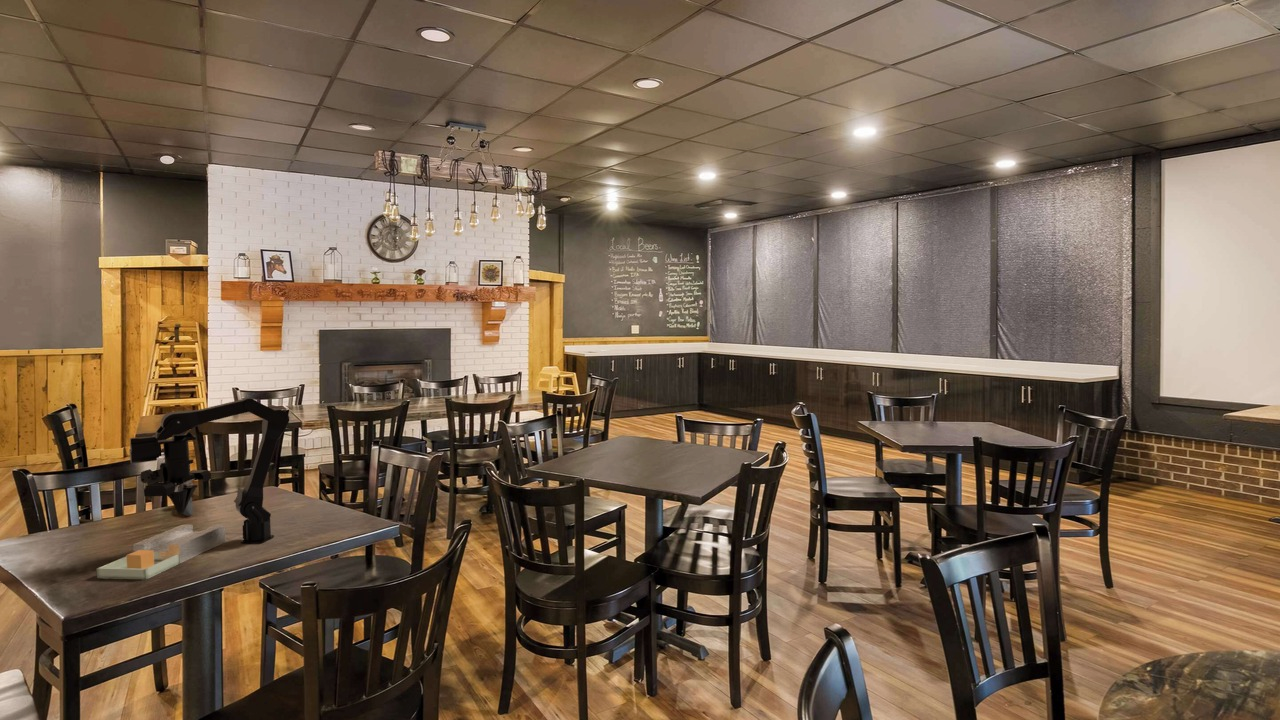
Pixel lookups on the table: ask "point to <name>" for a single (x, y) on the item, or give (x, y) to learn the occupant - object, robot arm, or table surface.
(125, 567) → the tray
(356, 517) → the table surface
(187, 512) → the grey double lobed rod
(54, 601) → the table surface
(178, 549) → the slot rail
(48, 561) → the table surface
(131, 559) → the peach toy brick
